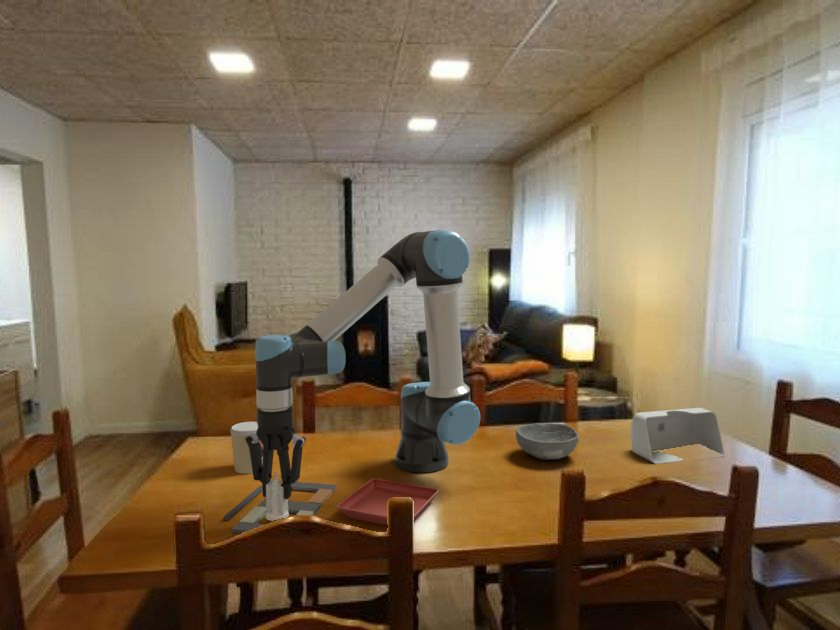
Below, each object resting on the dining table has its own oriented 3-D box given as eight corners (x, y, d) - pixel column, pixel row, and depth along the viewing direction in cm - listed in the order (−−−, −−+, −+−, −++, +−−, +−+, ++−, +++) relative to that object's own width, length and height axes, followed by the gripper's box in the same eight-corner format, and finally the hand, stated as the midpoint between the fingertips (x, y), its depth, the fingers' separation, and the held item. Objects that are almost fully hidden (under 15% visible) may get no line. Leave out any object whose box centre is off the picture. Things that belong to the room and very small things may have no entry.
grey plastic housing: (685, 439, 176) (687, 401, 175) (725, 456, 161) (727, 415, 159) (618, 446, 169) (619, 407, 168) (652, 464, 154) (654, 421, 153)
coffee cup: (256, 476, 145) (255, 432, 144) (224, 473, 147) (223, 430, 146) (273, 463, 154) (272, 422, 153) (242, 461, 156) (241, 420, 155)
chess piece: (268, 523, 117) (267, 477, 116) (263, 513, 121) (262, 470, 120) (291, 518, 119) (290, 473, 118) (285, 509, 124) (284, 466, 123)
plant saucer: (373, 489, 138) (372, 476, 137) (440, 501, 131) (440, 488, 130) (335, 520, 121) (335, 506, 121) (409, 536, 114) (409, 521, 114)
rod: (259, 489, 137) (259, 484, 137) (264, 489, 137) (264, 485, 136) (223, 521, 120) (222, 515, 120) (228, 521, 120) (227, 516, 120)
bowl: (509, 462, 155) (509, 435, 155) (522, 443, 172) (522, 418, 171) (574, 471, 149) (575, 443, 148) (581, 451, 165) (582, 425, 164)
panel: (336, 487, 138) (336, 484, 138) (294, 538, 112) (294, 534, 112) (284, 483, 140) (284, 480, 140) (231, 532, 115) (231, 528, 115)
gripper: (315, 404, 120) (316, 507, 122) (250, 401, 123) (253, 501, 125) (301, 413, 113) (303, 522, 115) (233, 409, 116) (236, 516, 118)
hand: (277, 511), depth 120 cm, fingers closed on chess piece, 2 cm apart
